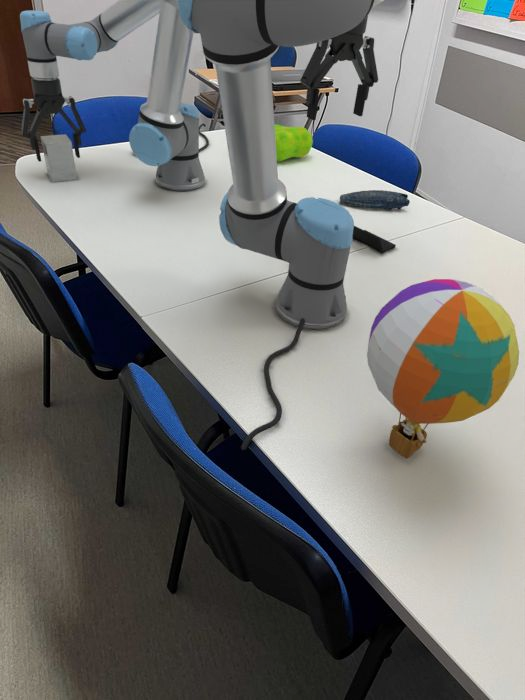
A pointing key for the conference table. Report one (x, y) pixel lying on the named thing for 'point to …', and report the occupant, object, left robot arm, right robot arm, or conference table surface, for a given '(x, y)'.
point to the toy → (440, 356)
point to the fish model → (376, 199)
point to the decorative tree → (292, 142)
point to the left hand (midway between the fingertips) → (58, 158)
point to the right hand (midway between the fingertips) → (334, 116)
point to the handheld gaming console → (372, 240)
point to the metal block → (59, 157)
